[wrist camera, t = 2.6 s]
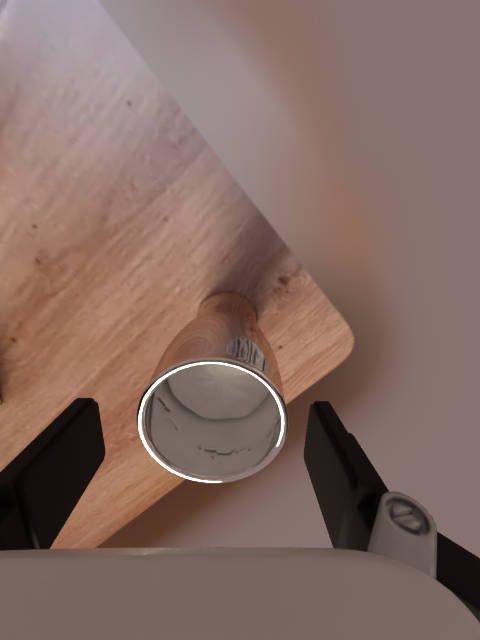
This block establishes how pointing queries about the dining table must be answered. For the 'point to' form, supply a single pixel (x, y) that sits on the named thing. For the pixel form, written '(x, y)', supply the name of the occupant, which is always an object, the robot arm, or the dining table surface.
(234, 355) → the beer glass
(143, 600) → the robot arm
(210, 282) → the dining table surface
